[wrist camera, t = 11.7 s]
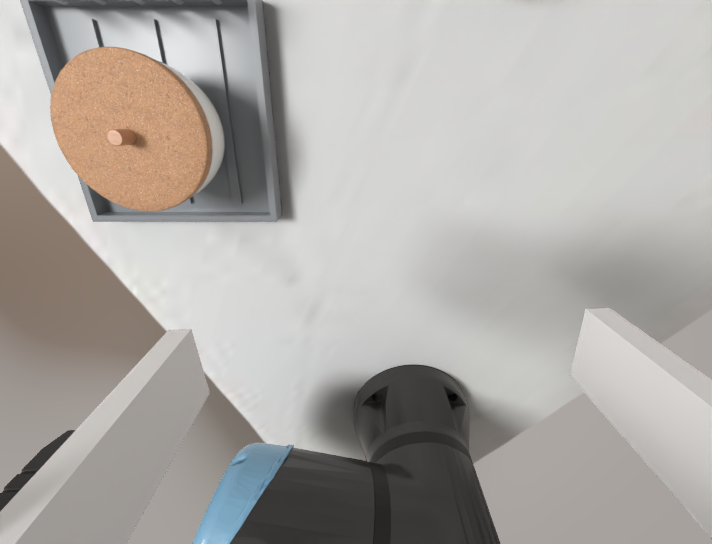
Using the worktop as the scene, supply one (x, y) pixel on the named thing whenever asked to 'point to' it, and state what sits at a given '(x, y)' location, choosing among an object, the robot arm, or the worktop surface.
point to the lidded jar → (135, 128)
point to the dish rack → (201, 65)
